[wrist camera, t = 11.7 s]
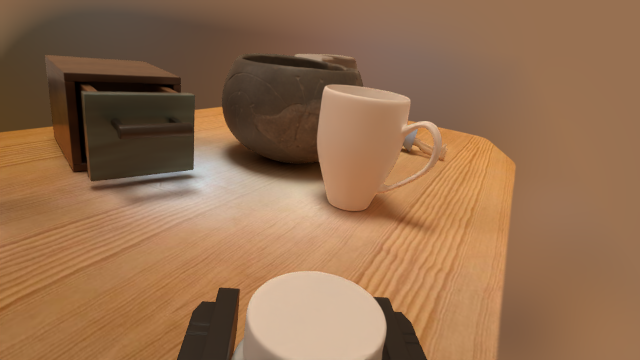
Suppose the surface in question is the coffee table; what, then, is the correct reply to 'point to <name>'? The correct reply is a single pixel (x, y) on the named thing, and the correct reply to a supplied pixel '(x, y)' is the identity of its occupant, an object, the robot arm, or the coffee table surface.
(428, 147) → the fairy figurine
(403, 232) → the coffee table surface
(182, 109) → the drawer
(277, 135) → the bowl
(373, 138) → the mug
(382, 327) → the pill bottle
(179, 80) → the cabinet
